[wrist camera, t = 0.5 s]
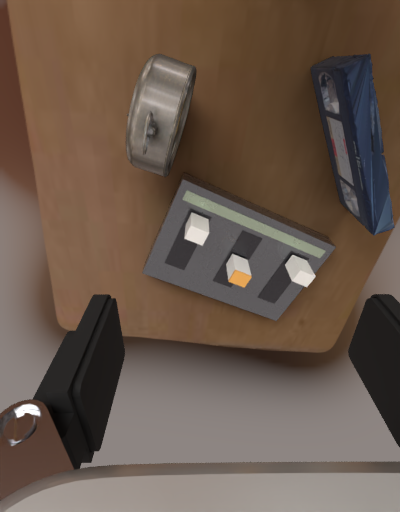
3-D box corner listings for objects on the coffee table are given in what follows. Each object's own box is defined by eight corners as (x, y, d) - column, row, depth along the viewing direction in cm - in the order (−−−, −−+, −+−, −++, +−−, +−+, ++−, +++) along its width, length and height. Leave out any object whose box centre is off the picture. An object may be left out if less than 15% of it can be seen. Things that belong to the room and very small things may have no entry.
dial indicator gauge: (175, 161, 40) (161, 209, 26) (134, 148, 39) (98, 191, 25) (199, 68, 34) (199, 67, 20) (153, 50, 33) (120, 37, 19)
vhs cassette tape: (308, 66, 34) (343, 65, 26) (334, 54, 33) (379, 48, 25) (336, 204, 43) (369, 238, 35) (357, 197, 42) (396, 229, 34)
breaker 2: (292, 254, 43) (300, 270, 40) (306, 260, 44) (315, 276, 40) (284, 264, 44) (291, 281, 41) (298, 270, 45) (307, 287, 41)
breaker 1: (191, 212, 40) (190, 225, 36) (208, 219, 40) (209, 232, 37) (185, 224, 41) (184, 238, 37) (202, 231, 41) (202, 245, 38)
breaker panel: (183, 172, 40) (182, 179, 38) (328, 237, 46) (336, 247, 43) (145, 262, 48) (142, 273, 46) (272, 308, 53) (276, 321, 51)
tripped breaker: (232, 253, 43) (235, 270, 40) (247, 259, 44) (251, 277, 40) (226, 264, 44) (228, 281, 41) (240, 269, 45) (244, 287, 41)
